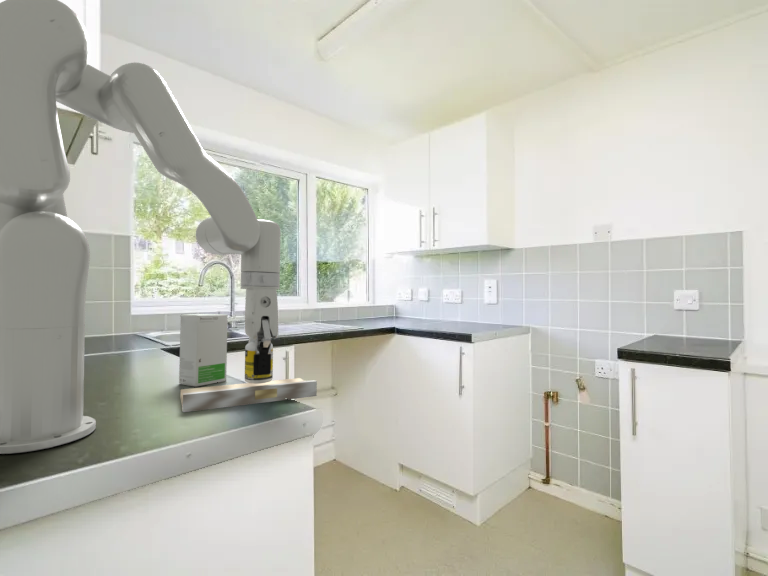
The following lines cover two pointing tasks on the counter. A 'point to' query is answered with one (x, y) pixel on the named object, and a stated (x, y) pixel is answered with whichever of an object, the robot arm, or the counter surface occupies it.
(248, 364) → the supplement bottle
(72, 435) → the robot arm
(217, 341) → the skincare box
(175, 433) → the counter surface
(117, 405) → the counter surface
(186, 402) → the shelf plank
